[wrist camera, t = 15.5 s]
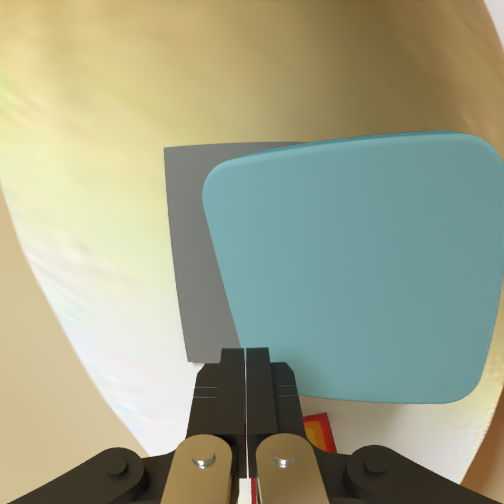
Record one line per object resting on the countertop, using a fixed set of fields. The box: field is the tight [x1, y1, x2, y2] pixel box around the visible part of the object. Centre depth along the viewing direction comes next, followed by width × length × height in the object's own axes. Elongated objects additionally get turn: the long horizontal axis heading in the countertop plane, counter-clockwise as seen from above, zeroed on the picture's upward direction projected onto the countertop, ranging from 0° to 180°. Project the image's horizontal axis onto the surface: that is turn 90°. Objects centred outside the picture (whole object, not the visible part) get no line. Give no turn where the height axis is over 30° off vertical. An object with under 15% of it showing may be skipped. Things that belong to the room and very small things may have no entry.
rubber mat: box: [164, 142, 309, 362], centre depth 19 cm, size 14×18×1 cm
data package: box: [202, 130, 504, 404], centre depth 14 cm, size 12×4×12 cm
